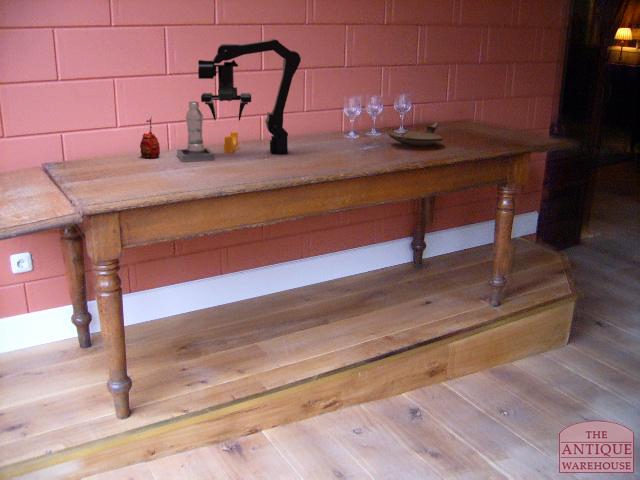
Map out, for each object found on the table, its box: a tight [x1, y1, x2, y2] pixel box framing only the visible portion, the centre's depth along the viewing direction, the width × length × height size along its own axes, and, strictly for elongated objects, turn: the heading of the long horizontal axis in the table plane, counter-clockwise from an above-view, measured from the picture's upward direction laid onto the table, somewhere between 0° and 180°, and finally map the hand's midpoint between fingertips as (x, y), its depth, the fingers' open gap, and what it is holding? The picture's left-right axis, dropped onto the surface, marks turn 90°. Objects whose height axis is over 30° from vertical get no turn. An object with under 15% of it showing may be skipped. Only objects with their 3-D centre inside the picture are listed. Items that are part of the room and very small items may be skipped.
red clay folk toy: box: [139, 116, 161, 159], centre depth 248 cm, size 8×7×15 cm
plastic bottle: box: [185, 101, 206, 155], centre depth 246 cm, size 6×7×20 cm
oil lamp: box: [387, 122, 443, 147], centre depth 279 cm, size 22×30×8 cm
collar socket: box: [176, 147, 216, 163], centre depth 249 cm, size 12×12×2 cm
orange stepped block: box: [223, 131, 239, 154], centre depth 264 cm, size 12×4×6 cm, turn 174°
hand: (227, 120), depth 253 cm, fingers open, 9 cm apart
